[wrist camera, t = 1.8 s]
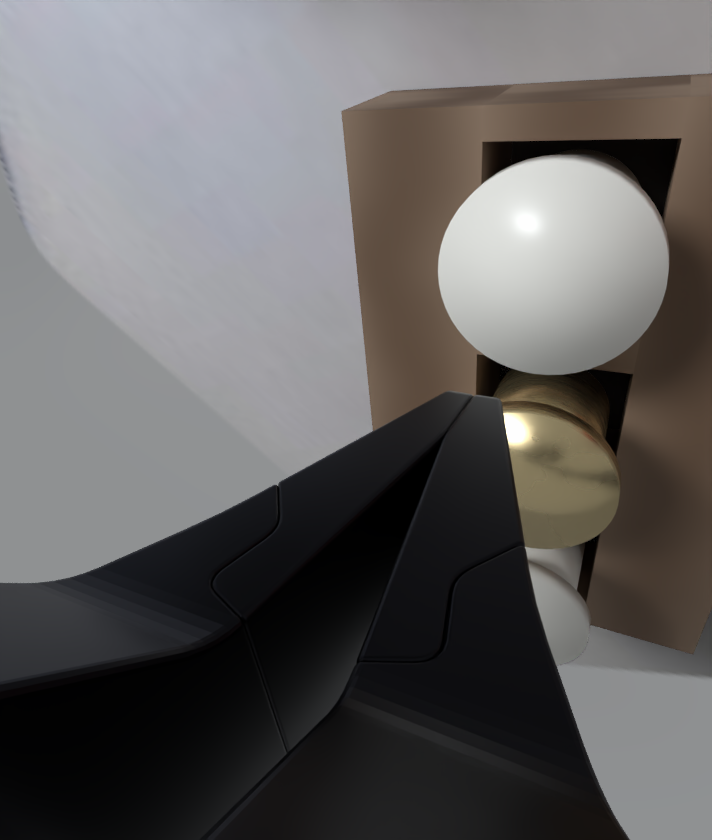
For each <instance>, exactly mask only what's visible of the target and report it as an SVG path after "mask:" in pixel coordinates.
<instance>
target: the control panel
mask: <svg viewBox="0 0 712 840" xmlns="http://www.w3.org/2000/svg"><path fill="white" fill-rule="evenodd" d="M342 121H343V131H344V141H345V151H346V162H347V172H348V182H349V192H350V202H351V212H352V222H353V233H354V243H355V253H356V263H357V273H358V283H359V293H360V303H361V314H362V324H363V334H364V344H365V354H366V364H367V374H368V385H369V395H370V405H371V415H372V425H373V431H374V430H376V429H378V428H380V427H382V426H383V425H385V424H387V423H389V422H391V421H393V420H394V419H396V418H398V417H400V416H402V415H404V414H405V413H407V412H409V411H411V410H413V409H415V408H416V407H418V406H420V405H422V404H424V403H426V402H427V401H429V400H431V399H433V398H435V397H437V396H438V395H440V394H442V393H444V392H446V391H455V392H461V393H468V394H472V395H473V396H475V395H481V396H488V397H493V396H494V393H495V391H496V389H497V387H498V385H499V383H500V363H497V362H496V361H494V360H492V359H490V358H489V357H487V356H485V355H484V354H483V353H481V352H480V351H478V350H477V349H476V348H475V347H474V346H472V345H471V344H470V343H469V342H468V341H467V340H466V339H465V338H464V336H463V335H462V334H461V333H460V332H459V331H458V329H457V328H456V326H455V325H454V323H453V322H452V320H451V318H450V316H449V314H448V312H447V310H446V308H445V305H444V302H443V299H442V296H441V292H440V287H439V279H438V259H439V253H440V248H441V244H442V241H443V238H444V235H445V232H446V230H447V228H448V226H449V224H450V222H451V220H452V218H453V217H454V215H455V214H456V212H457V210H458V209H459V208H460V207H461V205H462V204H463V203H464V202H465V201H466V200H467V198H468V197H469V196H470V195H471V194H472V193H473V192H474V191H475V190H476V189H477V188H478V187H479V186H481V185H482V184H483V183H484V182H485V181H486V180H487V179H489V178H490V177H492V176H493V175H495V174H496V173H498V172H499V171H501V170H503V169H505V168H507V167H509V166H511V157H512V141H551V140H611V139H670V138H678V141H677V146H676V151H675V156H674V161H673V166H672V171H671V176H670V181H669V186H668V191H667V196H666V201H665V205H664V210H663V215H662V220H663V223H664V226H665V229H666V232H667V237H668V243H669V273H668V280H667V287H666V291H665V294H664V298H663V301H662V304H661V306H660V308H659V310H658V312H657V314H656V316H655V318H654V320H653V321H652V323H651V324H650V326H649V327H648V329H647V330H646V331H645V332H644V333H643V335H642V336H641V337H640V338H639V339H638V340H637V341H636V342H635V343H634V344H633V345H632V346H630V347H629V348H628V349H627V350H626V351H624V352H623V353H621V354H620V355H618V356H617V357H615V358H613V359H612V360H610V361H608V362H606V363H604V364H602V365H599V366H597V367H594V368H591V369H596V370H604V371H612V372H620V373H628V374H630V378H629V383H628V388H627V393H626V398H625V403H624V408H623V413H622V418H621V423H620V428H619V430H617V429H611V428H607V432H606V437H605V440H606V441H607V443H608V444H609V445H610V447H611V449H612V450H613V452H614V454H615V456H616V458H617V461H618V463H619V467H620V471H621V489H620V496H619V503H618V507H617V511H616V514H615V516H614V517H613V519H612V521H611V522H610V524H609V525H608V526H607V527H606V528H605V529H604V530H603V531H602V532H601V533H600V534H599V535H598V536H597V541H596V544H594V543H590V542H585V549H584V555H583V560H582V565H581V571H580V576H579V581H578V587H577V591H578V593H579V594H580V595H581V597H582V598H583V599H584V601H585V603H586V605H587V607H588V609H589V613H590V618H591V624H590V625H593V626H597V627H600V628H604V629H607V630H610V631H614V632H617V633H621V634H624V635H628V636H631V637H635V638H638V639H642V640H645V641H649V642H652V643H655V644H659V645H662V646H666V647H669V648H673V649H676V650H680V651H683V652H687V653H690V654H693V653H694V651H695V648H696V646H697V644H698V641H699V639H700V636H701V634H702V631H703V629H704V626H705V624H706V621H707V619H708V616H709V614H710V611H711V609H712V74H697V75H678V76H660V77H641V78H623V79H605V80H586V81H568V82H550V83H531V84H513V85H494V86H476V87H458V88H439V89H421V90H402V91H390V92H387V93H385V94H382V95H380V96H378V97H375V98H373V99H370V100H368V101H365V102H363V103H361V104H358V105H356V106H353V107H351V108H348V109H346V110H343V111H342Z"/></svg>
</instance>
